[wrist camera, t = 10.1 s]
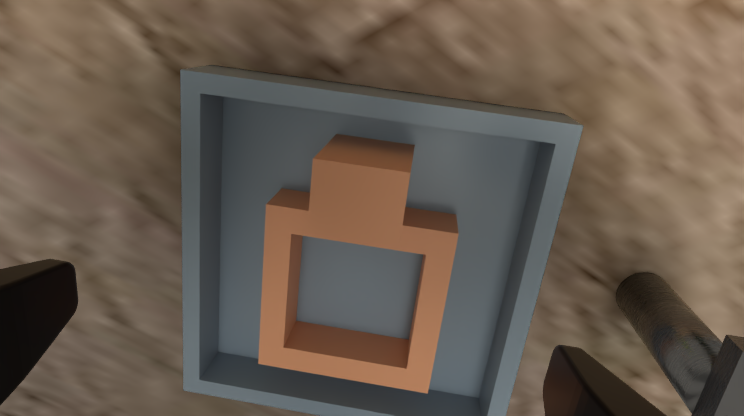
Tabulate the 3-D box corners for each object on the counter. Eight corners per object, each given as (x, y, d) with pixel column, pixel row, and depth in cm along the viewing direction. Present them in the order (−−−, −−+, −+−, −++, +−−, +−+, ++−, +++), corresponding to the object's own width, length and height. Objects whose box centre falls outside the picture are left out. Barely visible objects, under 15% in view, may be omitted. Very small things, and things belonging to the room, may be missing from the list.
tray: (490, 405, 23) (496, 447, 21) (207, 355, 24) (183, 390, 21) (564, 113, 18) (583, 125, 16) (211, 65, 19) (180, 69, 17)
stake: (651, 340, 21) (748, 475, 15) (603, 332, 21) (677, 463, 15) (684, 254, 20) (805, 361, 13) (631, 246, 20) (727, 349, 13)
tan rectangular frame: (428, 362, 22) (427, 430, 18) (272, 336, 22) (240, 397, 19) (467, 152, 19) (476, 182, 15) (285, 126, 19) (249, 149, 15)
